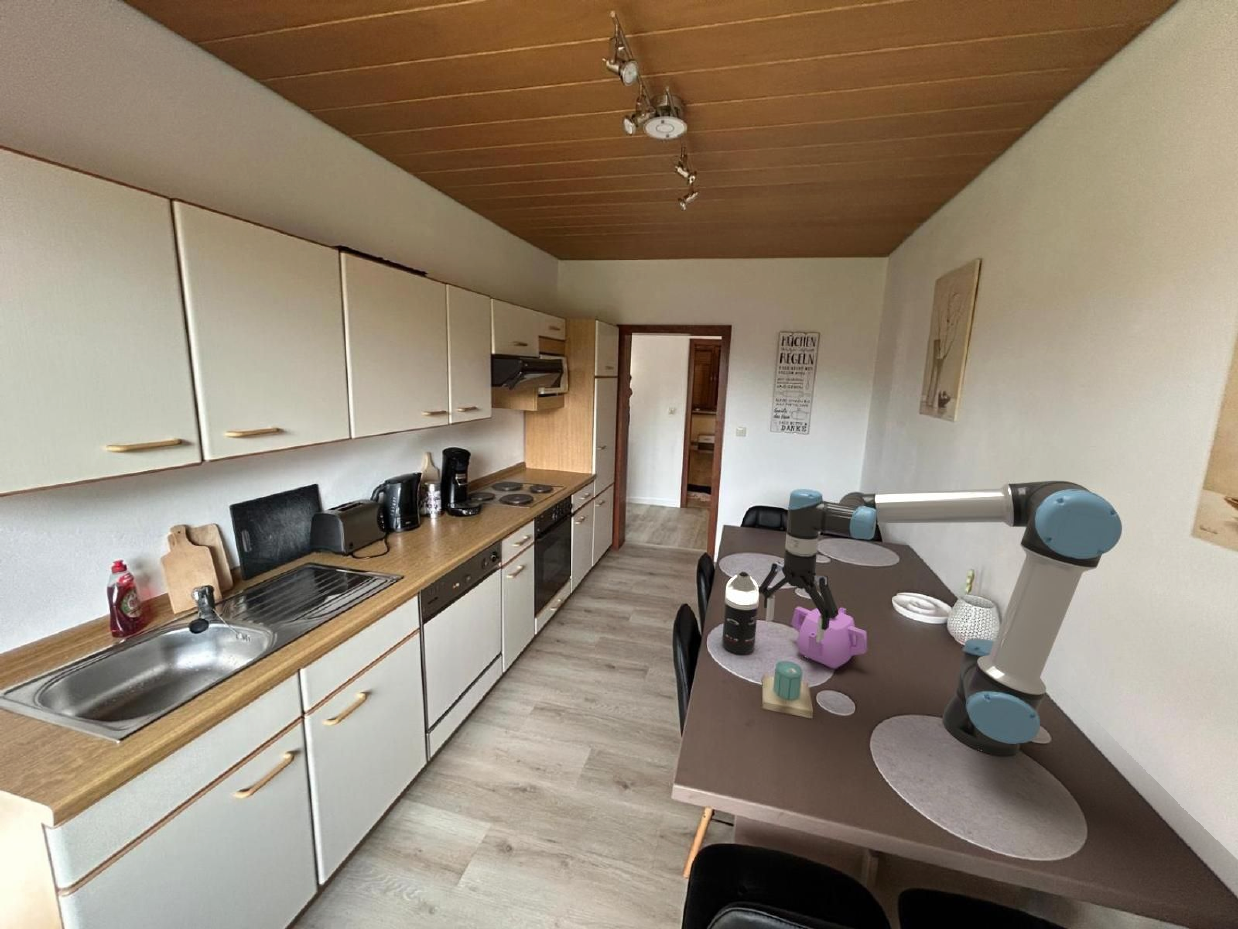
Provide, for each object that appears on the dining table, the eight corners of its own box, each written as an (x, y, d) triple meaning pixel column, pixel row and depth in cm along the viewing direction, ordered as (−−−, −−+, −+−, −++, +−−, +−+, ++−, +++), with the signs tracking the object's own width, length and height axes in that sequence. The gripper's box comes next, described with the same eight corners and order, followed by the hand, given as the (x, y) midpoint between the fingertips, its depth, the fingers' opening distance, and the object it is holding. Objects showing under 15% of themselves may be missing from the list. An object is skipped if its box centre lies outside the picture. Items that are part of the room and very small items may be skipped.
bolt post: (807, 689, 133) (810, 664, 132) (812, 718, 122) (815, 691, 120) (761, 681, 136) (764, 656, 135) (762, 708, 125) (765, 682, 123)
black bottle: (760, 647, 153) (767, 572, 149) (744, 660, 146) (751, 582, 141) (731, 634, 160) (737, 563, 156) (715, 646, 153) (720, 571, 148)
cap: (769, 685, 131) (771, 660, 129) (790, 683, 132) (793, 657, 131) (782, 701, 125) (784, 674, 123) (804, 698, 126) (807, 672, 125)
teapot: (840, 640, 159) (845, 597, 156) (871, 674, 141) (877, 626, 138) (783, 640, 158) (787, 597, 155) (806, 674, 140) (811, 626, 137)
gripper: (748, 542, 127) (743, 617, 131) (846, 569, 110) (837, 655, 114) (762, 536, 133) (757, 608, 136) (858, 561, 115) (849, 643, 119)
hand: (793, 630), depth 125 cm, fingers open, 13 cm apart
